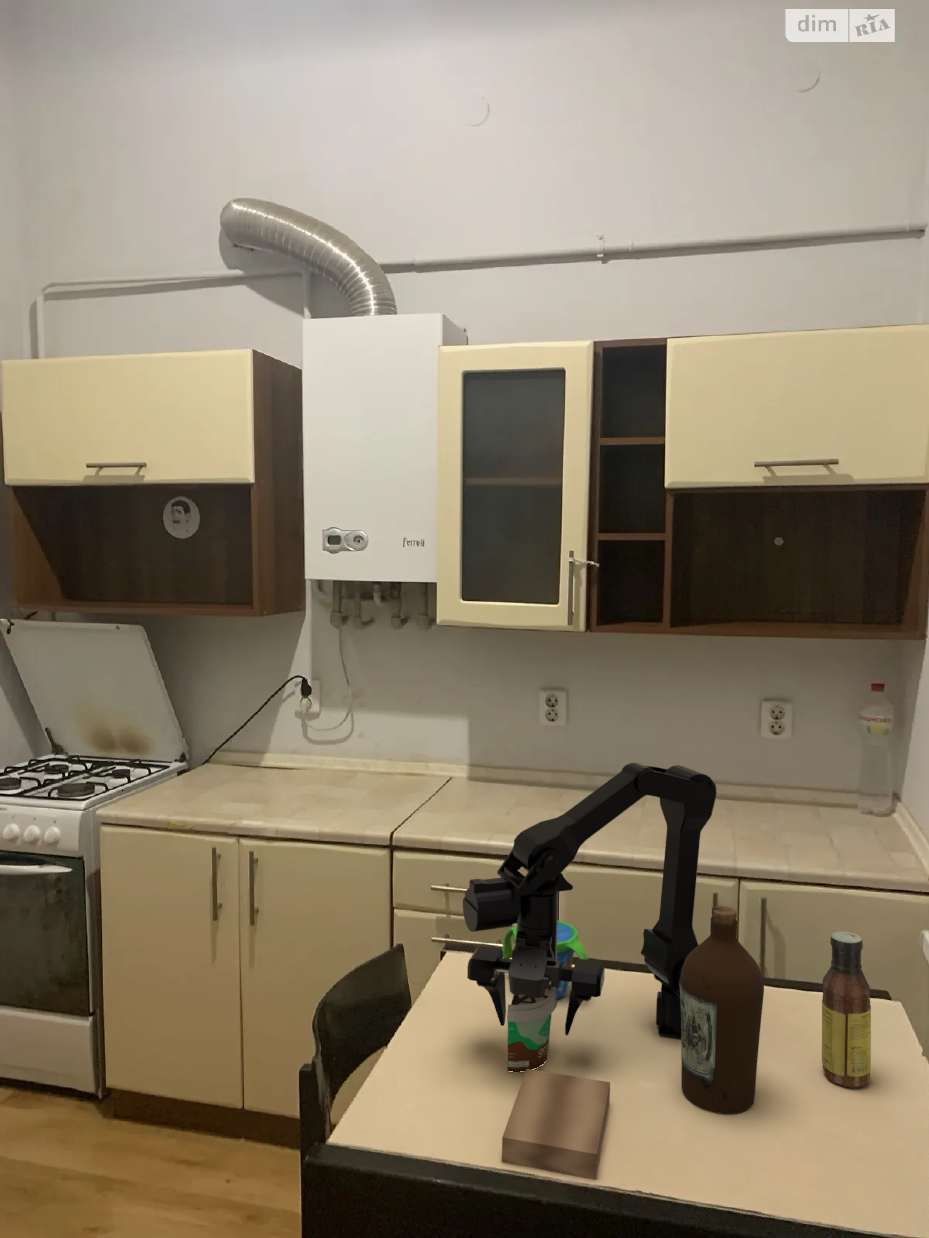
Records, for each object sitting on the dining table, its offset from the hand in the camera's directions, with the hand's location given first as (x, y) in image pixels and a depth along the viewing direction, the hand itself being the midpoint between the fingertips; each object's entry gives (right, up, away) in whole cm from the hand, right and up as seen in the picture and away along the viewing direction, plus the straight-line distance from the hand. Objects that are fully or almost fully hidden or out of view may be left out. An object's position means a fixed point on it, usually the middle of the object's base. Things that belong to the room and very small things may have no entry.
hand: (534, 1029), depth 130 cm
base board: (+2, -5, -17) cm, 18 cm away
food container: (0, -4, 0) cm, 4 cm away
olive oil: (+24, -5, -8) cm, 25 cm away
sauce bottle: (+42, -5, -4) cm, 43 cm away
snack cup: (+3, -3, +20) cm, 21 cm away
